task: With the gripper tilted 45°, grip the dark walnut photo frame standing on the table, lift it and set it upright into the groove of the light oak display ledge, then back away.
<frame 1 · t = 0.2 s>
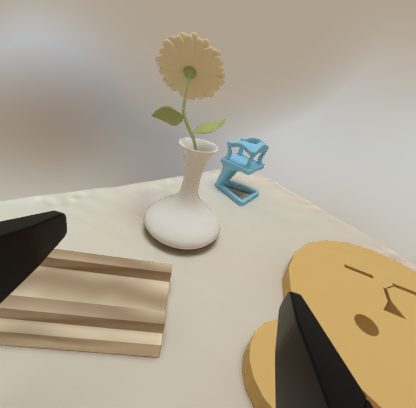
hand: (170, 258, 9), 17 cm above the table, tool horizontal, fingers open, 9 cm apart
oak display ledge: (89, 303, 25), on the table
flower in vase: (176, 229, 38), on the table
chair: (233, 192, 53), on the table
decorative plaque: (384, 339, 30), on the table
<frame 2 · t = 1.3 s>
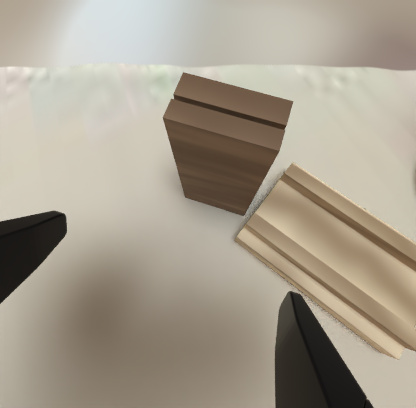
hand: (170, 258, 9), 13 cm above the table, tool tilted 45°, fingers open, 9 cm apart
oak display ledge: (328, 252, 23), on the table
walnut photo frame: (218, 192, 24), on the table
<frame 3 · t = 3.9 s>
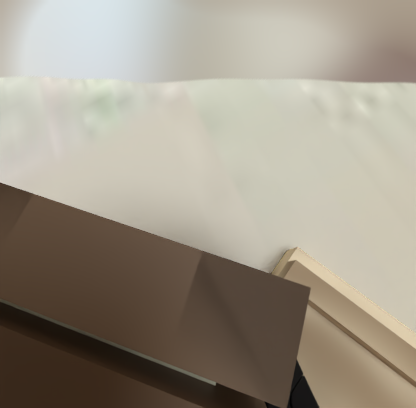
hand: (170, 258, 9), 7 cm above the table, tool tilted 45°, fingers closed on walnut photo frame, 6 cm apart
oak display ledge: (357, 401, 14), on the table
walnut photo frame: (178, 288, 15), on the table, touching gripper
when the fingers open (10 cm above the table, at t = 7.1 s): walnut photo frame drops 1 cm, resting on oak display ledge.
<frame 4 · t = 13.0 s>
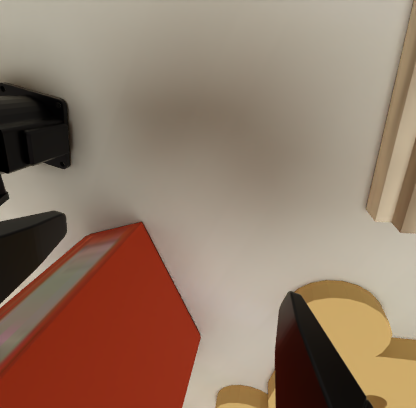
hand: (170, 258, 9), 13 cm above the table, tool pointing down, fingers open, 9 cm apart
file binder: (149, 286, 30), on the table
decorative plaque: (360, 396, 31), on the table
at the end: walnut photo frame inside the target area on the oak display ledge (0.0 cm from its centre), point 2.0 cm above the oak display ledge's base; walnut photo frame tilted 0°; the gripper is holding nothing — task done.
